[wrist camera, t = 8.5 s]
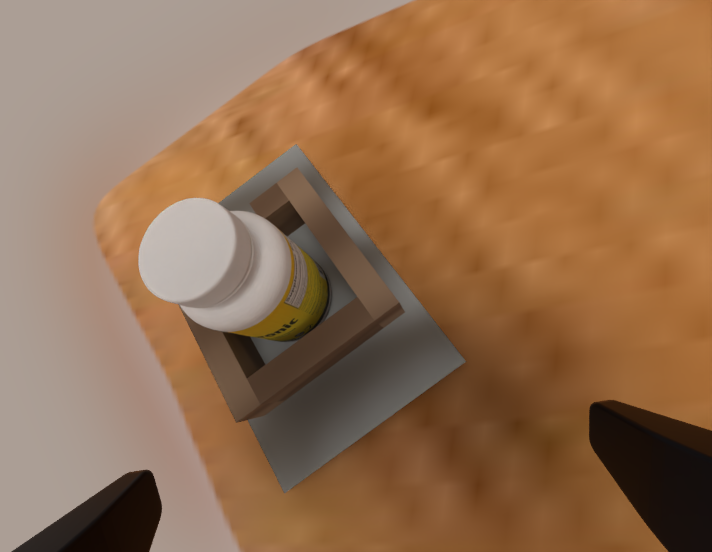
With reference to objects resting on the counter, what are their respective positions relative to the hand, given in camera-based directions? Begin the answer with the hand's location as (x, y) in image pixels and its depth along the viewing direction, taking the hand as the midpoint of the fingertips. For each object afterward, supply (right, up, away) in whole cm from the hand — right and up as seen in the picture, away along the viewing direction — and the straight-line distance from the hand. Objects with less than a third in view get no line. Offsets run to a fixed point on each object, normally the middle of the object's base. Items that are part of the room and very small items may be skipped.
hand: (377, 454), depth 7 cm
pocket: (-4, +2, +16) cm, 16 cm away
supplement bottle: (-4, +2, +15) cm, 16 cm away
